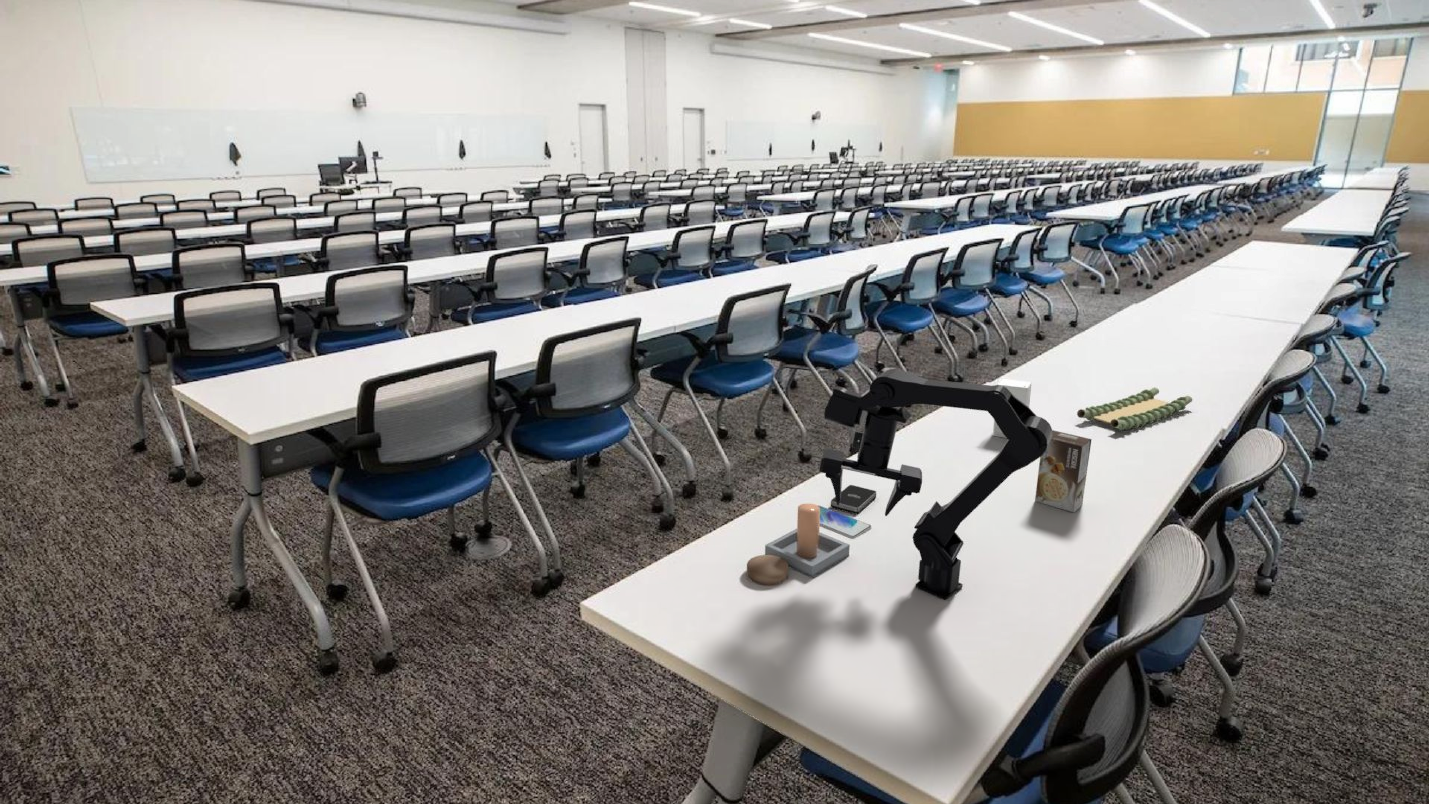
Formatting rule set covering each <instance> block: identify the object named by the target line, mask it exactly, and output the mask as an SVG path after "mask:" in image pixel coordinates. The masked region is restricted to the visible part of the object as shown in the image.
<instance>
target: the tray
mask: <svg viewBox="0 0 1429 804" xmlns="http://www.w3.org/2000/svg"><path fill="white" fill-rule="evenodd" d="M764 546H765V547H764V548H765V549H764V555H773V556H778V557H780V558H782V559H784V560H785V561H786V562H787V563H788V568H790V569H792V570H794V571H796V572H799V573H800V574H803V575H805V576H806V577H809V578H811V579H813V578H815V577H817V576H818V575H820V574H821V573H823V572H824V571H826V570H828V569H830V568H832V567H834V565H836V564H838V563H839V562H841V561H842V560H844V559H847V558H848V557H850V546H851V544H849V543H846V542H844V541H842V540H840V539H837V538H834V537H832V536H830V535H827V534H825V533H823V532H820V531H819V552H818V556H817V557H815V558H812V559H805V558H801V557H799V556H798V555H797V528H795V529H794V530H791V531H789V532H787V533H785V534H784V535H781V536H780V537H778V538H776V539H774V540H772V541H770V542H768V543H766V544H765V545H764Z"/></svg>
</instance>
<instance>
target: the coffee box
mask: <svg viewBox="0 0 1429 804" xmlns="http://www.w3.org/2000/svg"><path fill="white" fill-rule="evenodd" d="M1092 440H1093V439H1092V438H1088V437H1087V438H1086V437H1084V436H1079V435H1076V434H1075V435H1074V434H1072V433H1071V434H1069V433H1068V432H1062V431H1057V430H1053V429H1052V438H1051V440H1050V443H1049V445H1048V447H1047V449H1046V451H1045V453H1044V454H1043V455H1042V456H1041V457H1039V466H1038V474H1037V480H1036V481H1037V482H1036V491H1035V497H1034V502H1036V503H1040V504H1044V505H1045V506H1046V505H1047V506H1050V507H1053V508H1057V509H1060V510H1065V511H1068V512H1071V513H1076V511H1077V510H1078V509H1079V508H1081V507H1082V506H1083V505H1084V494H1085V489H1086V487H1085V486H1086V482H1087V481H1086V480H1087V473H1088V468H1089V467H1088V465H1089V460H1090V453H1091V446H1092V445H1091V444H1092Z"/></svg>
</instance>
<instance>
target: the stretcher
mask: <svg viewBox="0 0 1429 804" xmlns="http://www.w3.org/2000/svg"><path fill="white" fill-rule="evenodd" d="M1159 393H1160V390H1159V388H1157V387H1152V388H1151V389H1144V390H1141V391H1140V392H1138V393H1136V394H1132V395H1129V396H1127V397H1125V398H1122V399H1118V400H1116V401H1112V402H1111V401H1110V402H1109V403H1103V404H1102V405H1096V406H1094V405H1093V406H1089V407H1085V409H1082V408H1080V409H1079V410H1077V413H1076V415H1077V417H1078V418H1080V419H1086V420H1087V421H1093V420H1097V421H1100V422H1104V423H1106V424H1109V425H1110V427H1112V428H1113V429H1118V430H1120V431H1121V430H1122V431H1123V430H1131V428H1132V429H1138V428H1139V427H1144V426H1145V425H1146V424H1148V425H1150V424H1152V423H1153V422H1156V423H1157V422H1158V421H1159V420H1165V419H1166V418H1167V417H1168V418H1169V417H1171V416H1173V414H1178V413H1179V412H1180V411H1184V410H1185V409H1186V406H1187V405H1189V404H1191V403H1192V402H1193V397H1191V396H1190V395H1185V396H1179V397H1177V398H1176V400H1175V399H1174V400H1172V401H1171V402H1169V401H1164V400H1161V399H1157V398H1154V397H1155V396H1156V395H1158V394H1159Z"/></svg>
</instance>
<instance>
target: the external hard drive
mask: <svg viewBox="0 0 1429 804" xmlns="http://www.w3.org/2000/svg"><path fill="white" fill-rule="evenodd" d="M876 498H877V490H874V489H870V488H865V487H862V486H858V485H853V484H849V485H848V486H846V487H845V488H844V489H842V490H841V498H840V503H839V505H837V502H836V497H835V496H834V497H833V498H832V499H831V500H830V508H831V507H832V508H831V509H834V508H835V509H836V510H838V511H842V510H843V512H845V511H846V512H845V513H849V514H853V513H854V514H853V515H858V514H860V513H861V512H862V511H863V510H864V509H865V508H867V506H868V505H870V504H871V503H872V502H873V501H874V500H875V499H876ZM835 509H834V510H835Z"/></svg>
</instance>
